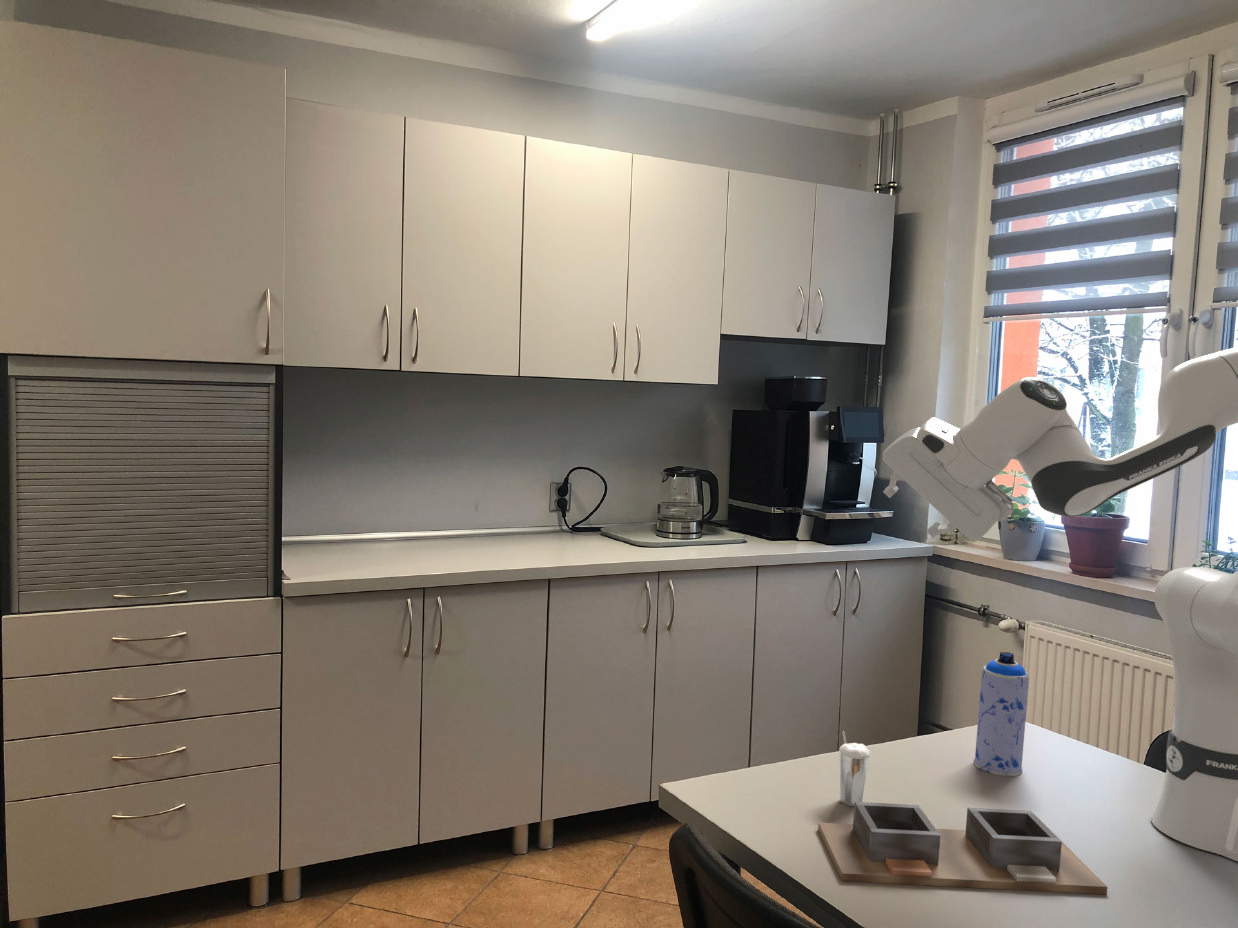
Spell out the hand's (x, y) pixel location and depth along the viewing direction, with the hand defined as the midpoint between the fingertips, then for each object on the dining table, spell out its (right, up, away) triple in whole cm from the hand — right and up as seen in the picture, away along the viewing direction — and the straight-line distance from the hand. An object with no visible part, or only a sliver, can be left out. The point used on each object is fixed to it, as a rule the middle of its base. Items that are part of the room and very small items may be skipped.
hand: (908, 513), depth 150 cm
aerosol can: (+18, -44, +7) cm, 48 cm away
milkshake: (-12, -44, -10) cm, 47 cm away
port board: (-2, -46, -27) cm, 53 cm away
